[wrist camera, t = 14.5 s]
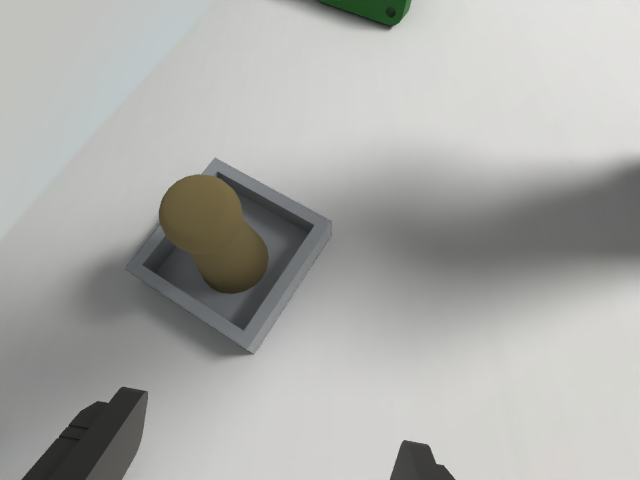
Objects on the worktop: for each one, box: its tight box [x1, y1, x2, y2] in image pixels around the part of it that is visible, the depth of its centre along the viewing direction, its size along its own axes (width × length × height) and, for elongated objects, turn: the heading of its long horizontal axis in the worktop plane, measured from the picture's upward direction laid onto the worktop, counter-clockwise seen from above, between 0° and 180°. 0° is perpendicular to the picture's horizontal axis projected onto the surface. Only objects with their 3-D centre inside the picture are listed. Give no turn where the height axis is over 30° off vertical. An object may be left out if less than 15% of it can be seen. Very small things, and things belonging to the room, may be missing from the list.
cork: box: [159, 175, 269, 294], centre depth 30 cm, size 6×6×11 cm
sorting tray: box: [125, 158, 332, 354], centre depth 34 cm, size 12×12×3 cm
